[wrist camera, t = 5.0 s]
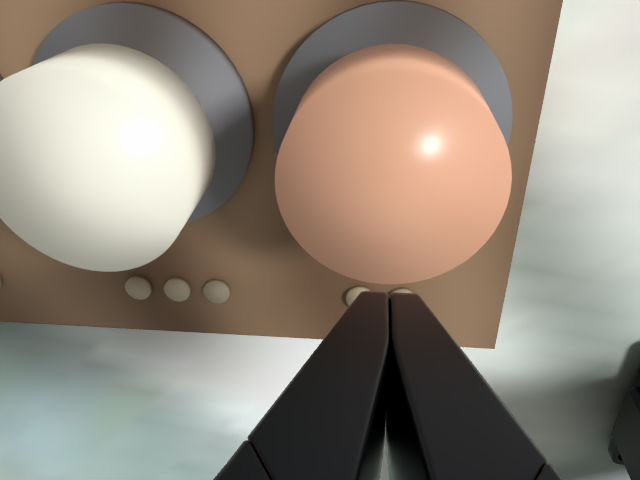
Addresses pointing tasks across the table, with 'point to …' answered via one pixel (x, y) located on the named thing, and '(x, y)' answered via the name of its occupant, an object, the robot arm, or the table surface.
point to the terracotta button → (392, 166)
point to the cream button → (101, 156)
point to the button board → (274, 157)
